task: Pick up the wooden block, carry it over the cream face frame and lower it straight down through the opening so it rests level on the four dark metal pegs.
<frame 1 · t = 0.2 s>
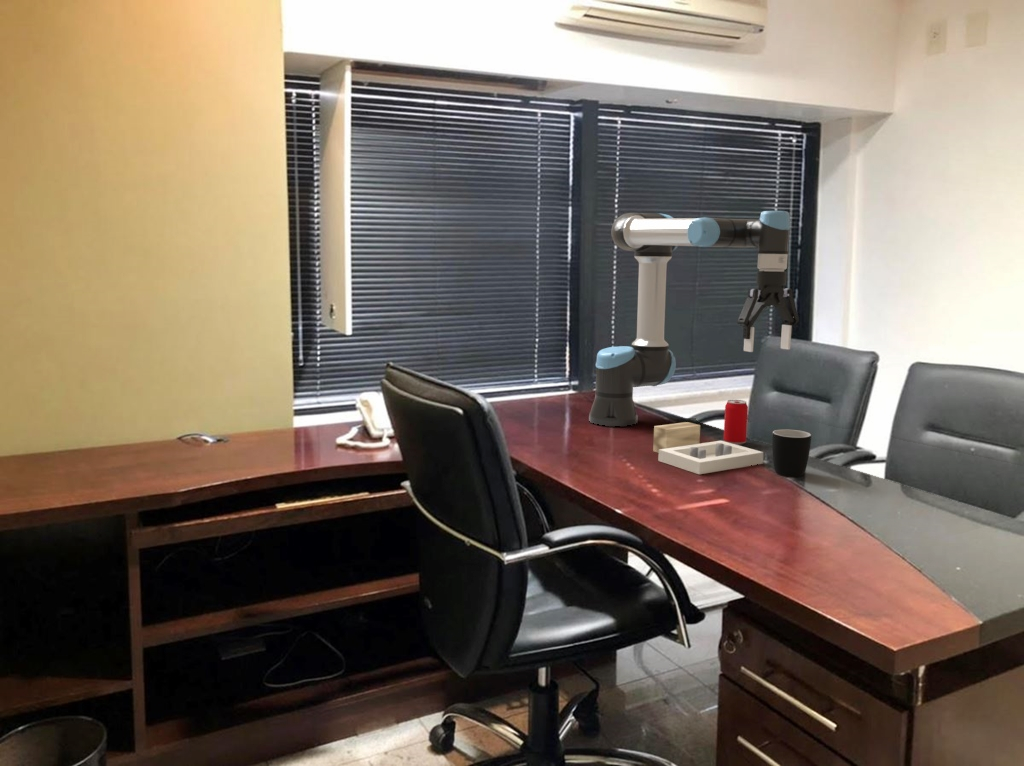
hand: (766, 350, 229), 28 cm above the table, fingers open, 13 cm apart
peg frame: (710, 462, 219), on the table
beverage can: (734, 443, 241), on the table
mug: (786, 472, 211), on the table
wooden block: (676, 450, 231), on the table
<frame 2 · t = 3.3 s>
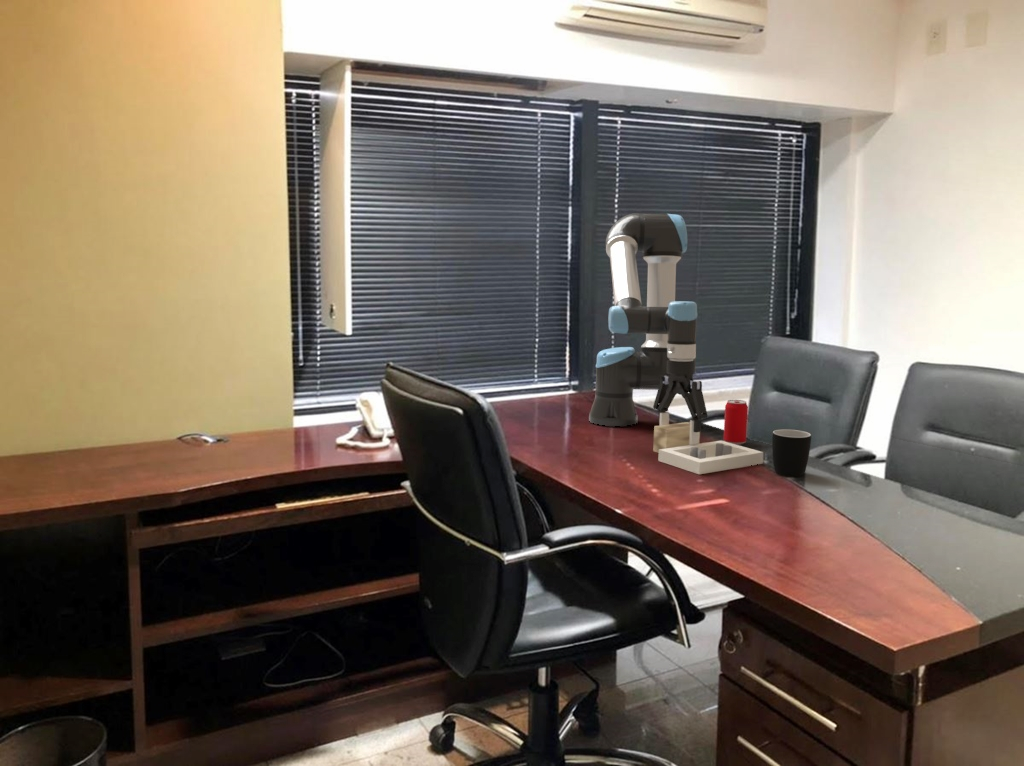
hand: (678, 439, 230), 3 cm above the table, fingers open, 11 cm apart
nothing on the table moved.
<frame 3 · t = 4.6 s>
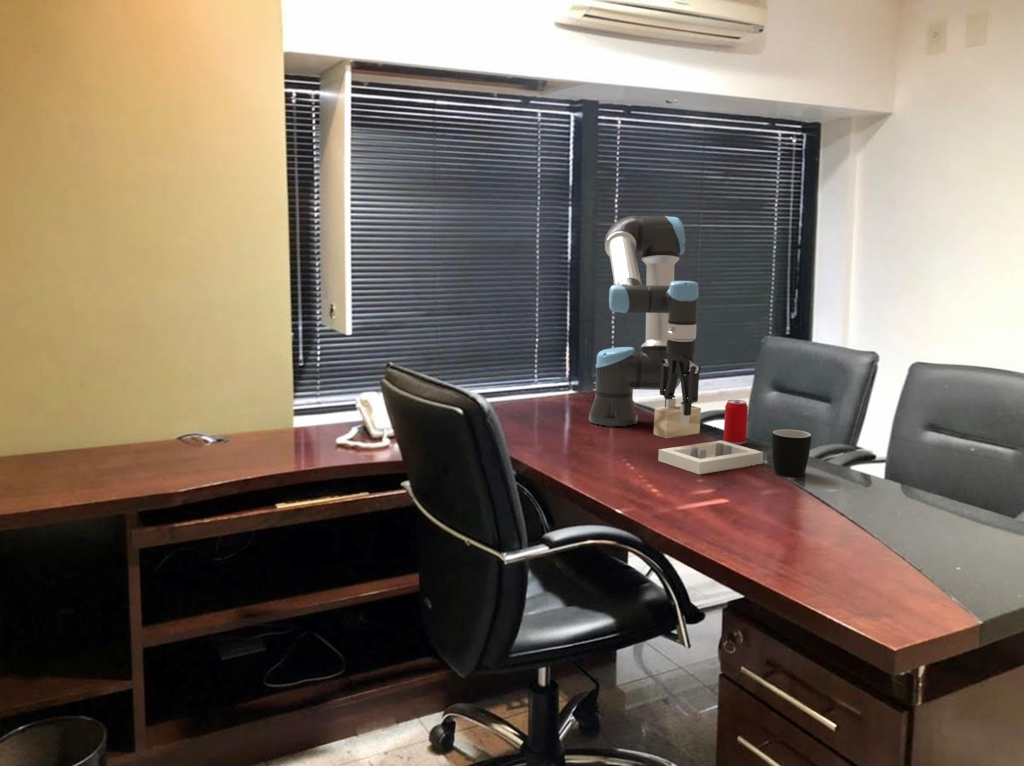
hand: (676, 424, 231), 7 cm above the table, fingers closed on wooden block, 5 cm apart
wooden block: (676, 433, 231), point 4 cm above the table, touching gripper
everything else where it was.
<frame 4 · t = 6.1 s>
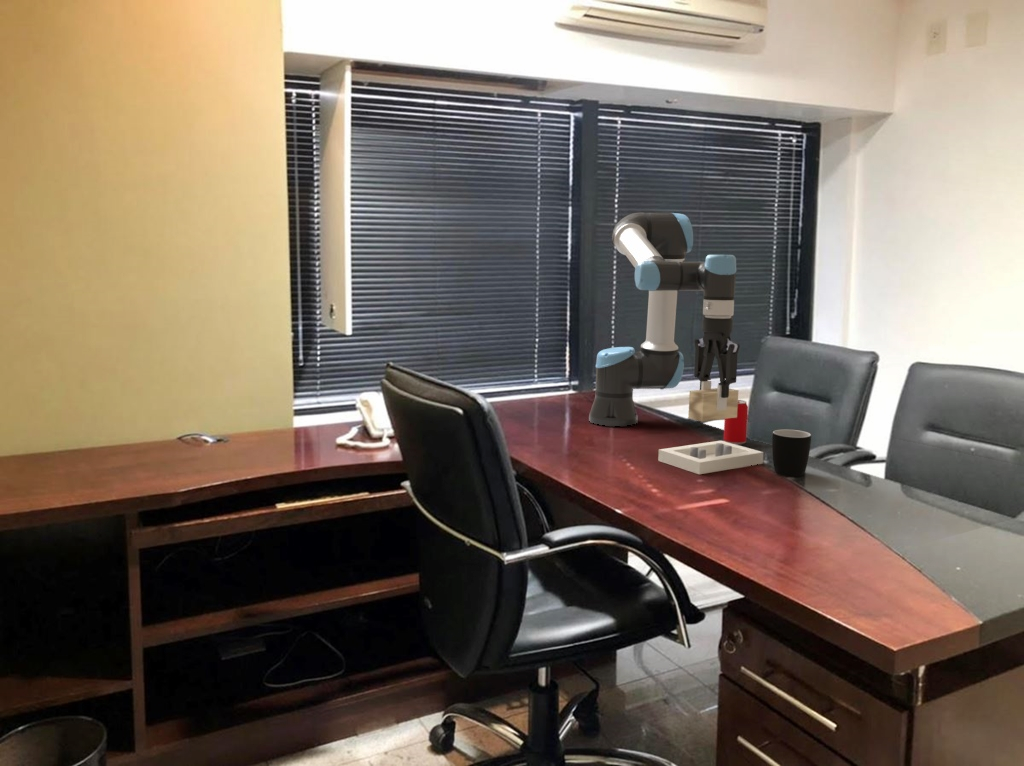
hand: (713, 407, 217), 14 cm above the table, fingers closed on wooden block, 5 cm apart
wooden block: (712, 417, 217), point 12 cm above the table, touching gripper
everything else where it was.
when the fingers open (7 cm above the table, at t = 7.9 s): wooden block stays where it is, resting on peg frame.
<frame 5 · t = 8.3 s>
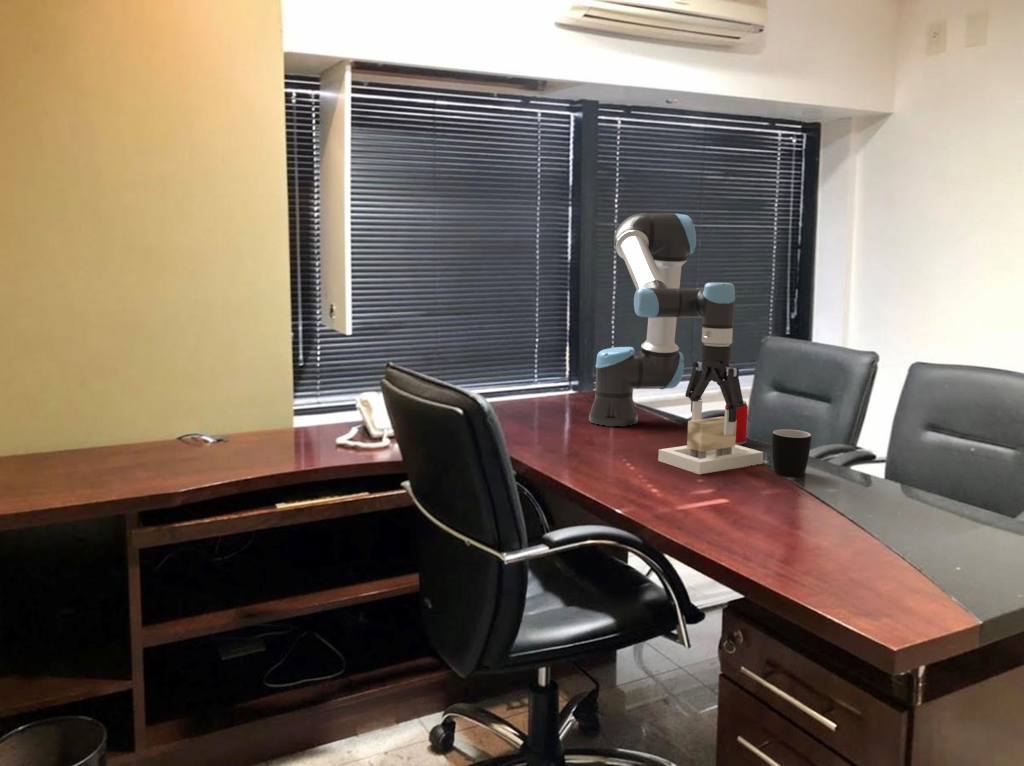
hand: (712, 430, 218), 8 cm above the table, fingers open, 11 cm apart
wooden block: (711, 447, 219), point 4 cm above the table, touching peg frame
everything else where it was.
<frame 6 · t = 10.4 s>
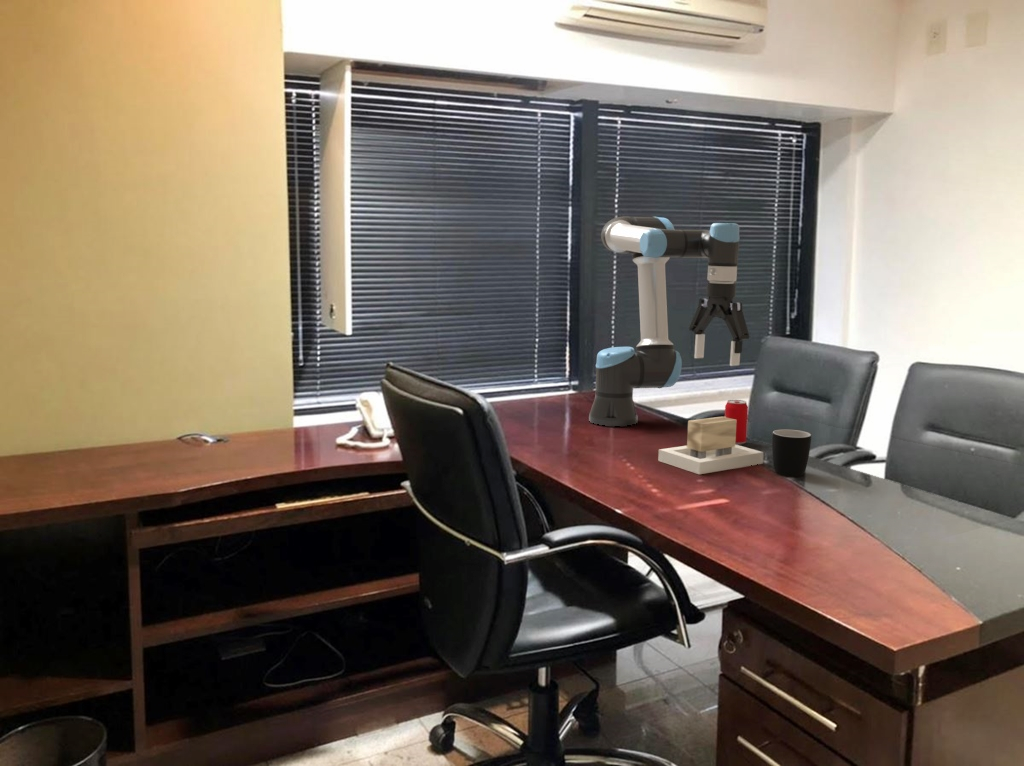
hand: (716, 361, 229), 24 cm above the table, fingers open, 13 cm apart
nothing on the table moved.
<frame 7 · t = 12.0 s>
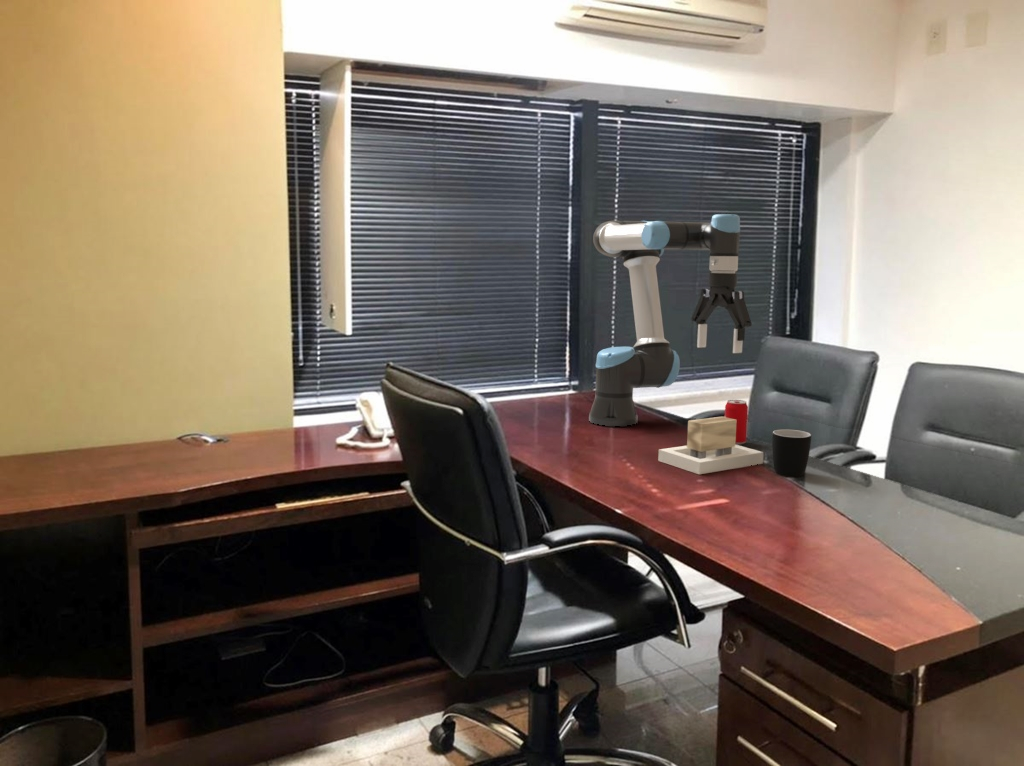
hand: (719, 350, 234), 27 cm above the table, fingers open, 13 cm apart
nothing on the table moved.
at the end: wooden block 0.0 cm off-centre on the peg frame, point 4.0 cm above the peg frame's base; wooden block tilted 0°; the gripper is holding nothing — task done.
